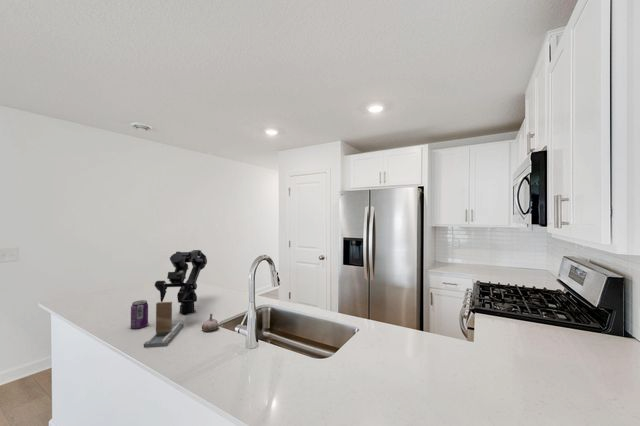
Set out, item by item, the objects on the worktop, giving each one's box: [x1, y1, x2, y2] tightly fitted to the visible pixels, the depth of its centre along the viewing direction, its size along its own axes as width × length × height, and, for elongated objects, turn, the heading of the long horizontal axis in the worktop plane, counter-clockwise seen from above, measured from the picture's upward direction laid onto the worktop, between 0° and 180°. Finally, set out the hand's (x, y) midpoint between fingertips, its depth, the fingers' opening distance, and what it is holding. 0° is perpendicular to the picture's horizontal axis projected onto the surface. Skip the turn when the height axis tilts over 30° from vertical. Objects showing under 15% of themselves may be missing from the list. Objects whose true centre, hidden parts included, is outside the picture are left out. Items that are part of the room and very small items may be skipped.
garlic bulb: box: [201, 312, 220, 332], centre depth 130 cm, size 8×7×8 cm
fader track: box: [143, 321, 185, 348], centre depth 123 cm, size 20×9×2 cm, turn 9°
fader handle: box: [155, 301, 173, 337], centre depth 121 cm, size 4×6×14 cm, turn 99°
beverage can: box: [130, 299, 149, 329], centre depth 133 cm, size 7×7×12 cm
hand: (171, 301), depth 131 cm, fingers open, 9 cm apart
